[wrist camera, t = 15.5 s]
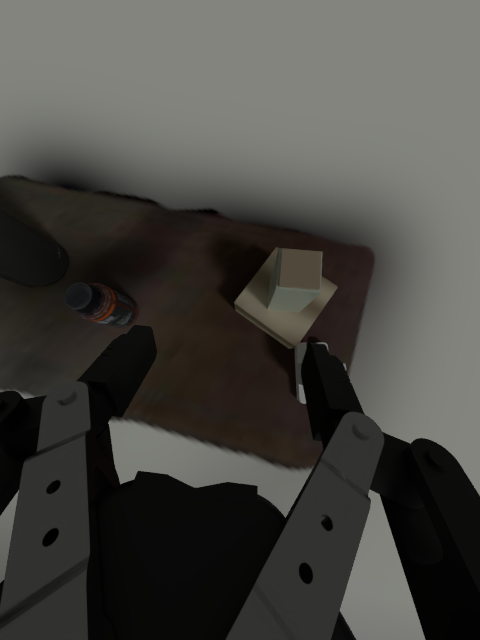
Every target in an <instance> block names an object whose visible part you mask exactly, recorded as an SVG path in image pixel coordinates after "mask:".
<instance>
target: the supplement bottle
mask: <svg viewBox="0 0 480 640" xmlns="http://www.w3.org/2000/svg"><path fill="white" fill-rule="evenodd" d="M64 301H65V304H66V305H67V306H68V307H69V308H71V309H73V310H74V311H75V312H76V314H77V315H78V316H80V317H81V318H83V319H86V320H90V321H93V322H98V323H102V324H106V325H110V326H114V327H120V328H122V327H127V326H129V325H131V324H132V323H133V322H134V321H135V320H136V319H137V316H138V306H137V304H136V302H135V301H134V300H133V299H131V298H129V297H127V296H125V295H123V294H121V293H119V292H117V291H115V290H113V289H111V288H109V287H107V286H105V285H103V284H100V283H88V284H86V283H83V282H78V283H74V284H72V285H71V286H70V287H68V289H67V290H66V292H65V295H64Z"/></svg>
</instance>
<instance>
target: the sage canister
mask: <svg viewBox="0 0 480 640" xmlns="http://www.w3.org/2000/svg"><path fill="white" fill-rule="evenodd" d="M321 272H322V252H319V251H307V250H295V249H283V248H282V249H279V251H278V254H277V258H276V261H275V264H274V268H273V271H272V275H271V278H270V285H269V297H268V308H267V309H268V310H278V311H288V312H300V311H301V310H302V309H304V308H305V307H306V306H307V305H308V304H309V303H310V302H311V301H312V300H314V299H315V298H316V297H317V296H318V295H319V294H320V293H321Z"/></svg>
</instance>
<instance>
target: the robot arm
mask: <svg viewBox="0 0 480 640" xmlns="http://www.w3.org/2000/svg"><path fill="white" fill-rule="evenodd" d="M67 266H68V255H67V253H66V251H65V250H64V249H63V248H62V247H61V246H60V245H58V244H56V243H55V242H54V241H52V240H50V239H48V238H47V237H45V236H43V235H42V234H40V233H39V232H37V231H35V230H34V229H32V228H31V227H29V226H27V225H26V224H24V223H22V222H21V221H19V220H18V219H16V218H14V217H13V216H11V215H9V214H8V213H6V212H4V211H3V210H1V209H0V277H1V278H4V279H7V280H10V281H12V282H15V283H18V284H21V285H24V286H27V287H31V286H34V285H38V286H46V285H50V284H52V283H54V282H56V281H57V280H58V279H60V278H61V277H62V276H63V274H64V273H65V271H66V269H67ZM156 354H157V348H156V344H155V339H154V335H153V330H152V328H151V327H149V326H139V325H135V326H133V327H132V328H131V329H130V331H129V332H128V333H127V334H122V335H121V336H119V337H118V338H116V339H114V340H113V341H112V342H111V343H110V344H109V346H108V347H107V349H105V350H104V351H103V352H102V353H101V356H99V357H98V358H97V359H96V360H95V361H94V362H93V364H92V365H91V366H90V367H89V368H88V369H87V370H86V371H85V372H84V374H83V375H82V376H81V377H80V378H79V379H78V380H77V381H76V382H69V383H66V384H63V385H61V386H59V387H57V388H56V389H54V390H53V391H52V392H51V393H49V394H48V395H47V396H41V397H34V398H28V399H24V398H23V397H22V396H21V395H20V394H19V393H18V392H16V391H4V392H0V515H1V514H2V512H3V511H4V510H5V508H6V507H7V505H8V504H9V502H10V501H11V500H12V499H13V497H14V496H15V494H16V493H17V492H18V490H19V494H18V500H17V506H16V512H15V518H14V524H13V530H12V537H11V542H10V549H9V555H8V561H7V567H6V573H5V579H4V580H3V581H2V582H1V583H0V640H356V638H355V637H354V635H353V633H352V631H351V630H350V628H349V626H348V624H347V623H346V621H345V619H344V617H343V616H342V614H341V612H340V611H339V610H340V607H341V604H342V600H343V597H344V594H345V590H346V587H347V583H348V580H349V577H350V573H351V570H352V567H353V563H354V560H355V557H356V553H357V550H358V547H359V543H360V540H361V537H362V533H363V529H364V527H365V523H366V520H367V517H368V513H369V509H370V504H371V500H370V498H369V497H368V492H369V489H370V490H372V491H375V492H376V493H378V494H380V497H381V500H382V504H383V506H384V510H385V513H386V516H387V519H388V522H389V526H390V529H391V532H392V535H393V538H394V541H395V545H396V548H397V551H398V554H399V557H400V560H401V563H402V567H403V569H404V573H405V576H406V579H407V582H408V585H409V589H410V592H411V595H412V598H413V601H414V604H415V608H416V611H417V613H418V617H419V620H420V623H421V626H422V630H423V633H424V636H425V639H426V640H480V496H479V494H478V493H477V491H476V490H475V488H474V486H473V485H472V483H471V481H470V480H469V478H468V477H467V475H466V474H465V472H464V471H463V469H462V467H461V466H460V464H459V463H458V461H457V460H456V459H455V458H454V456H453V455H452V454H451V453H449V452H448V451H447V450H446V449H445V448H444V447H442V446H441V445H439V444H437V443H435V442H433V441H431V440H428V439H423V438H419V439H416V440H414V441H413V442H412V443H411V444H410V443H407V442H405V441H403V440H400V439H398V438H395V437H393V436H390V435H388V434H386V433H383V432H382V431H381V429H380V427H379V426H378V425H377V424H376V423H375V422H374V421H373V420H372V419H370V418H369V417H368V416H366V415H365V414H364V412H363V410H362V408H361V405H360V403H359V400H358V398H357V396H356V394H355V391H354V389H353V386H352V384H351V383H350V379H349V377H348V375H347V372H346V370H345V367H344V365H343V363H342V362H341V361H340V360H339V359H338V358H337V357H336V356H333V355H329V352H328V349H327V347H326V345H325V344H317V343H309V344H308V346H307V349H306V352H305V355H304V358H303V361H302V365H301V379H302V384H303V389H304V394H305V400H306V405H307V410H308V415H309V420H310V426H311V431H312V436H313V440H315V441H322V444H323V451H322V453H321V455H320V457H319V458H318V460H317V462H316V464H315V466H314V468H313V469H312V471H311V473H310V475H309V477H308V479H307V480H306V482H305V484H304V486H303V488H302V490H301V491H300V493H299V495H298V497H297V498H296V500H295V502H294V504H293V506H292V507H291V509H290V511H289V513H288V515H287V516H286V518H285V517H284V515H283V514H282V513H281V512H280V511H279V510H278V509H277V507H275V506H274V505H273V504H272V503H271V502H270V501H268V500H267V499H265V498H264V497H262V496H260V495H258V494H257V486H254V485H246V484H238V483H231V482H226V483H220V484H215V485H210V486H205V487H199V488H194V487H191V486H189V485H187V484H185V483H183V482H181V481H179V480H177V479H175V478H173V477H171V476H169V475H167V474H159V473H151V472H142V471H138V472H137V474H136V477H135V479H134V480H132V481H128V482H126V483H123V484H120V482H119V478H118V475H117V472H116V469H115V465H114V459H113V452H112V444H111V436H110V429H109V424H108V422H109V420H110V419H111V417H112V416H116V417H122V416H123V415H124V413H125V411H126V409H127V408H128V406H129V404H130V402H131V401H132V399H133V397H134V395H135V394H136V392H137V390H138V389H139V387H140V385H141V383H142V382H143V380H144V378H145V376H146V375H147V373H148V371H149V369H150V368H151V366H152V364H153V362H154V361H155V358H156Z"/></svg>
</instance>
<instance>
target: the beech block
mask: <svg viewBox="0 0 480 640" xmlns="http://www.w3.org/2000/svg"><path fill="white" fill-rule="evenodd" d="M278 251H279V248H277V247H276V248H275V250H274V251H273V252H272V254H271V255H270V256H269V258H268V259H267V260H266V261H265V263H264V264H263V265H262V267H261V268H260V269H259V271H258V272H257V273H256V274H255V276H254V277H253V278H252V280H251V281H250V282H249V284H248V285H247V286H246V288H245V289H244V290H243V291H242V293H241V294H240V295H239V297H238V298H237V299H236V301H235V302H234V305H235V310H236V311H237V312H238V313H240V314H241V315H242V316H244V317H245V318H247V319H248V320H249V321H251V322H252V323H254V324H255V325H256V326H258V327H259V328H261V329H262V330H263V331H265V332H266V333H267V334H269V335H270V336H272V337H273V338H274V339H276V340H277V341H279V342H280V343H281V344H283V345H284V346H286V347H287V348H288V349H291V348H295V347H297V345H298V344H299V343H300V341H301V340H302V338H303V337H304V335H305V334H306V332H307V331H308V330H309V328H310V327H311V325H312V324H313V322H314V321H315V319H316V318H317V317H318V315H319V314H320V312H321V311H322V309H323V308H324V306H325V305H326V304H327V302H328V301H329V299H330V298H331V296H332V295H333V293H334V292H335V291H336V289H337V288H338V287H337V286H336V285H334V284H333V283H331V282H330V281H328V280H327V279H325V278H324V277H322V276H321V293H320V294H319V295H318V296H317V297H316V298H315V299H314V300H312V301H311V302H310V303H309V304H308V305H307V306H306V307H305V308H304V309H302V310H301V311H300V312H288V311H278V310H268V309H267V308H268V297H269V285H270V278H271V275H272V271H273V268H274V264H275V261H276V258H277V254H278Z"/></svg>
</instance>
